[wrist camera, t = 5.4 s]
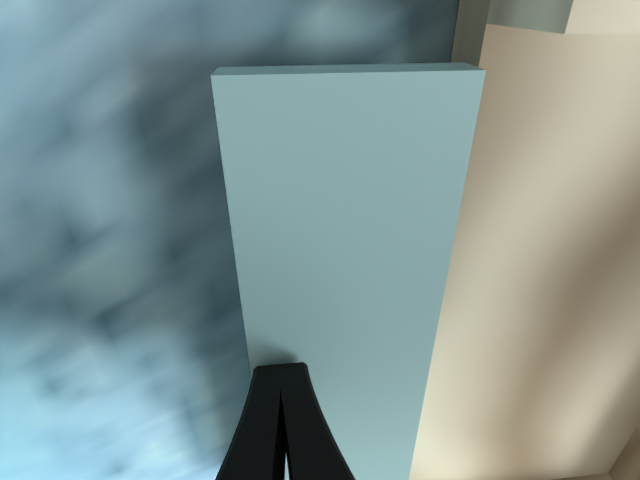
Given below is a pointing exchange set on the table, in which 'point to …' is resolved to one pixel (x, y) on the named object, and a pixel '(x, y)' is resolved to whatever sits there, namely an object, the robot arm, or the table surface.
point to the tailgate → (348, 232)
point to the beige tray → (543, 253)
